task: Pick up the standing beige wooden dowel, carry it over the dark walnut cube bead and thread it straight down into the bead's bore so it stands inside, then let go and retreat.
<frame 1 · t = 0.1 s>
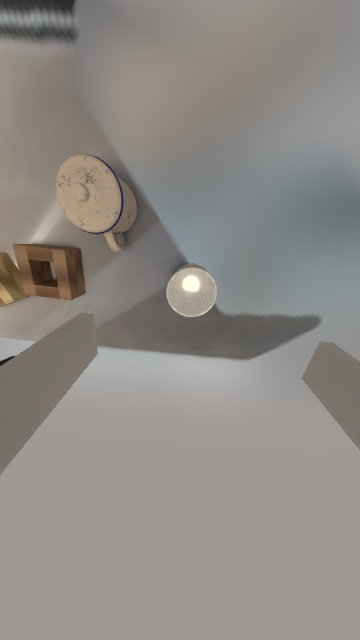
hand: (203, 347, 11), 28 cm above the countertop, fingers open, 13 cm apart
white cup: (191, 280, 37), on the countertop
light wooden square frame: (4, 281, 39), on the countertop
teacup with lid: (117, 216, 33), on the countertop
bead dark: (61, 269, 37), on the countertop
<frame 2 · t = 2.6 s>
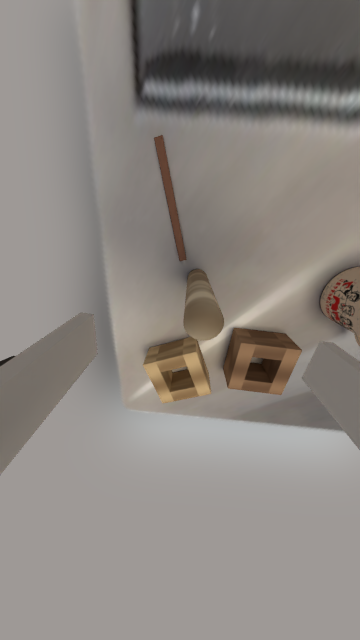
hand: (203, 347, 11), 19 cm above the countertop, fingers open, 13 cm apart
light wooden square frame: (179, 361, 35), on the countertop
teacup with lid: (347, 303, 28), on the countertop
beige wooden dowel: (197, 279, 28), on the countertop
brown wooden stick: (172, 206, 24), on the countertop
bead dark: (252, 352, 33), on the countertop
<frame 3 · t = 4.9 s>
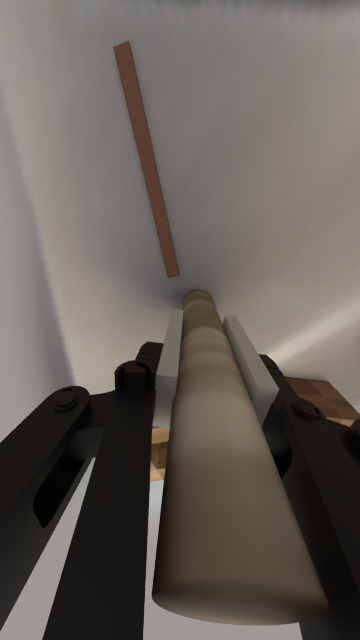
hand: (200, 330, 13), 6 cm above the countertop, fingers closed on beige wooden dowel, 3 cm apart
light wooden square frame: (172, 414, 24), on the countertop
beige wooden dowel: (198, 304, 18), on the countertop, touching gripper
brown wooden stick: (153, 185, 14), on the countertop
bead dark: (277, 405, 23), on the countertop
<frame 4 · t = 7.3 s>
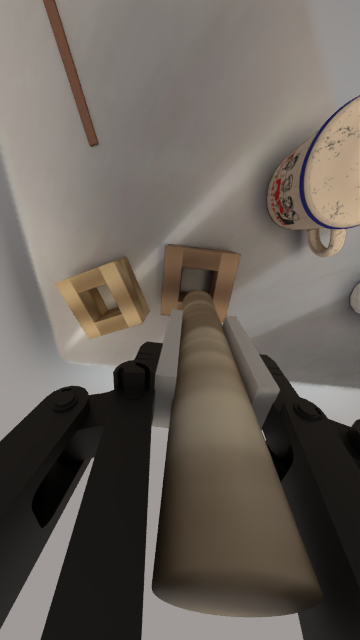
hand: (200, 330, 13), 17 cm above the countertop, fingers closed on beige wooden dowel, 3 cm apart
light wooden square frame: (114, 293, 30), on the countertop
teacup with lid: (300, 205, 23), on the countertop
beige wooden dowel: (197, 304, 18), point 11 cm above the countertop, touching gripper
brown wooden stick: (67, 59, 19), on the countertop
bead dark: (196, 279, 28), on the countertop
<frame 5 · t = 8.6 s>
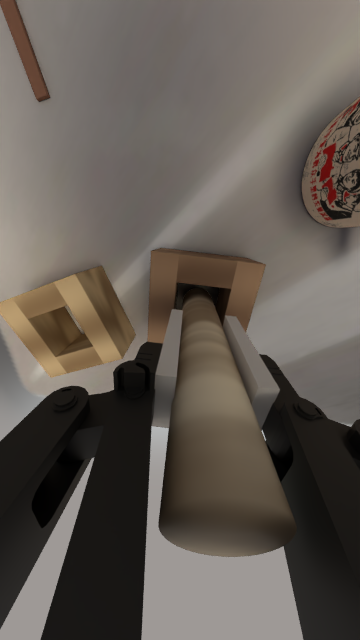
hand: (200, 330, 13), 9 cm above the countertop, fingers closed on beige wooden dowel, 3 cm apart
light wooden square frame: (87, 313, 22), on the countertop
teacup with lid: (349, 191, 16), on the countertop
beige wooden dowel: (197, 302, 19), point 2 cm above the countertop, touching gripper
bead dark: (197, 294, 20), on the countertop
when the fingers open (7 cm above the countertop, at t = 9.8 s): beige wooden dowel stays where it is, resting in bead dark.
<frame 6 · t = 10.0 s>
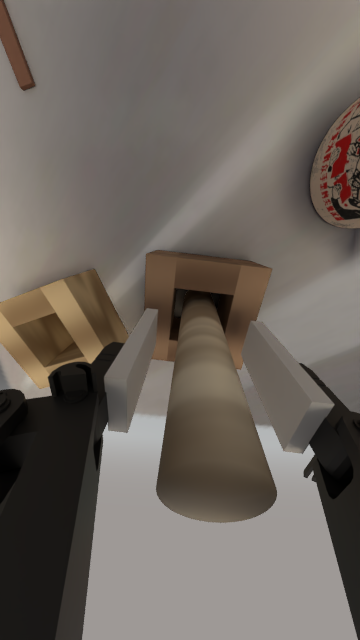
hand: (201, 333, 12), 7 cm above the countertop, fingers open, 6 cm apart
light wooden square frame: (80, 319, 21), on the countertop
beige wooden dowel: (197, 300, 19), resting in bead dark
bead dark: (197, 300, 19), on the countertop
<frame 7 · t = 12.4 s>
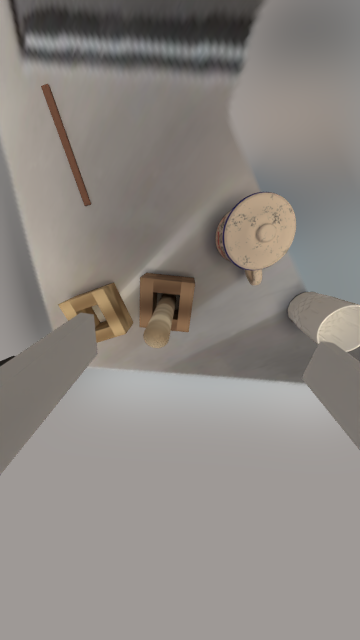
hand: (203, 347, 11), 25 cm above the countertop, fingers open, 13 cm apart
white cup: (304, 307, 36), on the countertop
light wooden square frame: (104, 310, 37), on the countertop
teacup with lid: (241, 245, 32), on the countertop
beige wooden dowel: (168, 298, 36), resting in bead dark
brown wooden stick: (69, 151, 27), on the countertop
bead dark: (168, 298, 36), on the countertop
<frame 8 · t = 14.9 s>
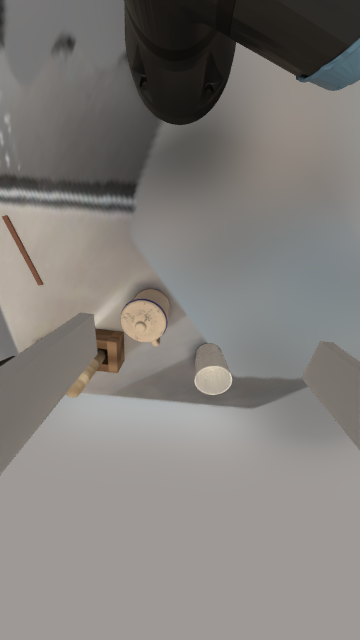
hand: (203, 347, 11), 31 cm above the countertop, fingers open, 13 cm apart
white cup: (208, 353, 48), on the countertop
teacup with lid: (154, 311, 43), on the countertop
beige wooden dowel: (107, 345, 48), resting in bead dark
brown wooden stick: (24, 252, 39), on the countertop
bead dark: (107, 345, 48), on the countertop
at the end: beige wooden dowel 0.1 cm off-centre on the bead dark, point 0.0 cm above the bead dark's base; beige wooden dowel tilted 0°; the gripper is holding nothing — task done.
